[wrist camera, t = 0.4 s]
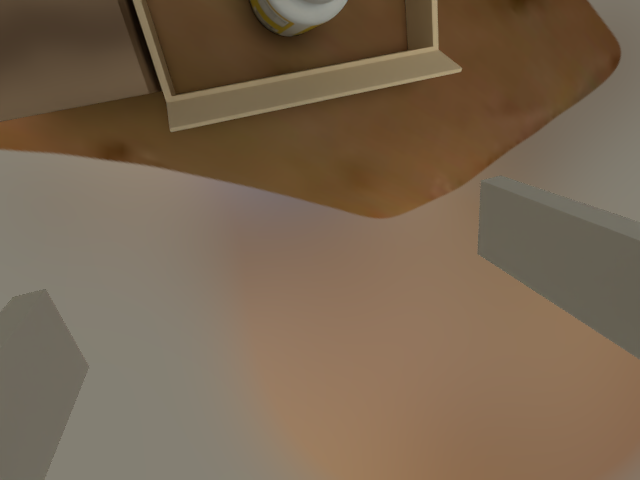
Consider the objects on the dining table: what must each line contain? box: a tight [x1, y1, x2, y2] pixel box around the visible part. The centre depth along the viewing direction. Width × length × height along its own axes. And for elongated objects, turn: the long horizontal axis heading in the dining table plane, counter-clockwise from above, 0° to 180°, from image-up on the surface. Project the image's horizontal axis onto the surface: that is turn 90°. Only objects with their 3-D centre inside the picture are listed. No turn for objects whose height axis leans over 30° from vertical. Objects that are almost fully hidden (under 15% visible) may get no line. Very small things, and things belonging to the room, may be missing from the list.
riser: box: [0, 0, 162, 122], centre depth 25 cm, size 9×9×8 cm
